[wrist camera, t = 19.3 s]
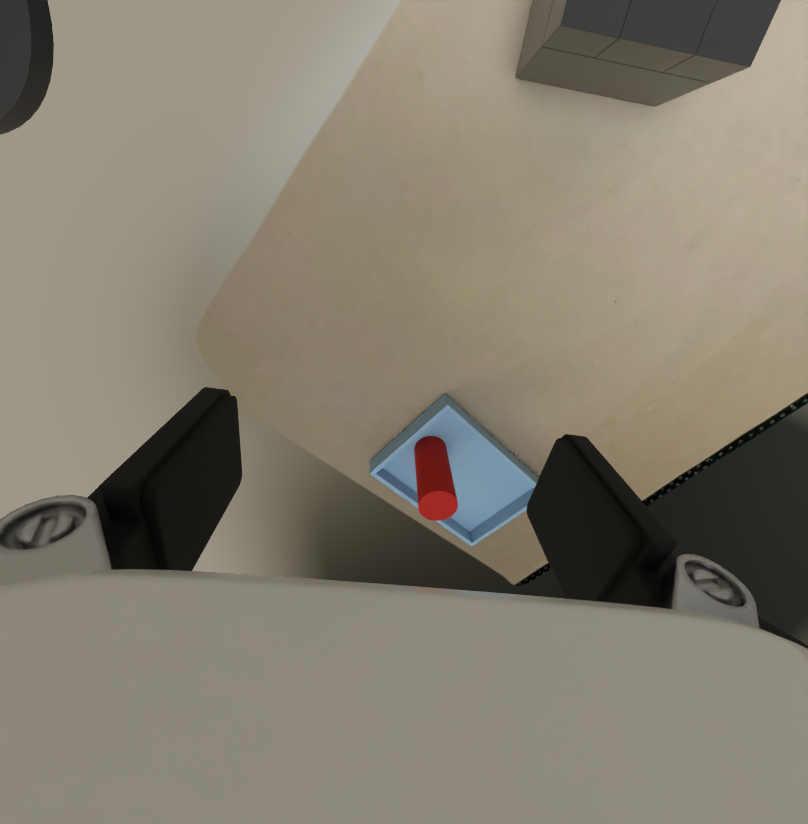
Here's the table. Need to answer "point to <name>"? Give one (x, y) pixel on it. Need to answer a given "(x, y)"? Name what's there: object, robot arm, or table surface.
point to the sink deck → (641, 45)
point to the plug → (434, 479)
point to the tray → (460, 471)
